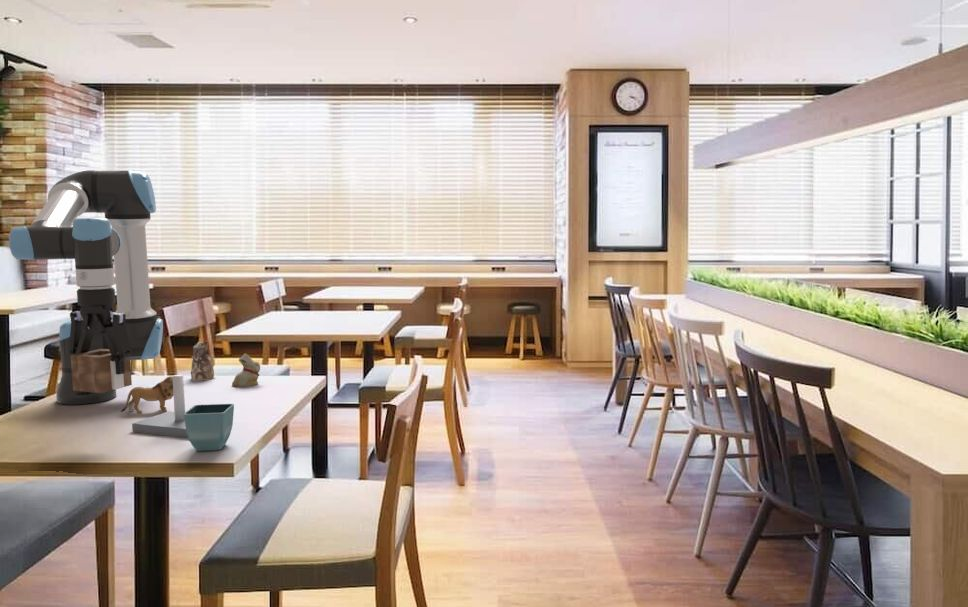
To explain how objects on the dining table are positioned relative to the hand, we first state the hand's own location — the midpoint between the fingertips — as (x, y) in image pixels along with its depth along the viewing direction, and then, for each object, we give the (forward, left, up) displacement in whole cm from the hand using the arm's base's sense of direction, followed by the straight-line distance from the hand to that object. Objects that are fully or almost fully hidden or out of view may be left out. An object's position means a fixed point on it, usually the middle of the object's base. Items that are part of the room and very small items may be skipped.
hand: (102, 386), depth 167 cm
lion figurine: (-11, +27, -13) cm, 32 cm away
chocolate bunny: (-8, +62, -13) cm, 64 cm away
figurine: (-28, +66, -13) cm, 73 cm away
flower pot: (+26, +4, -13) cm, 30 cm away
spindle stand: (+8, +15, -13) cm, 21 cm away
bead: (0, 0, 0) cm, 0 cm away
